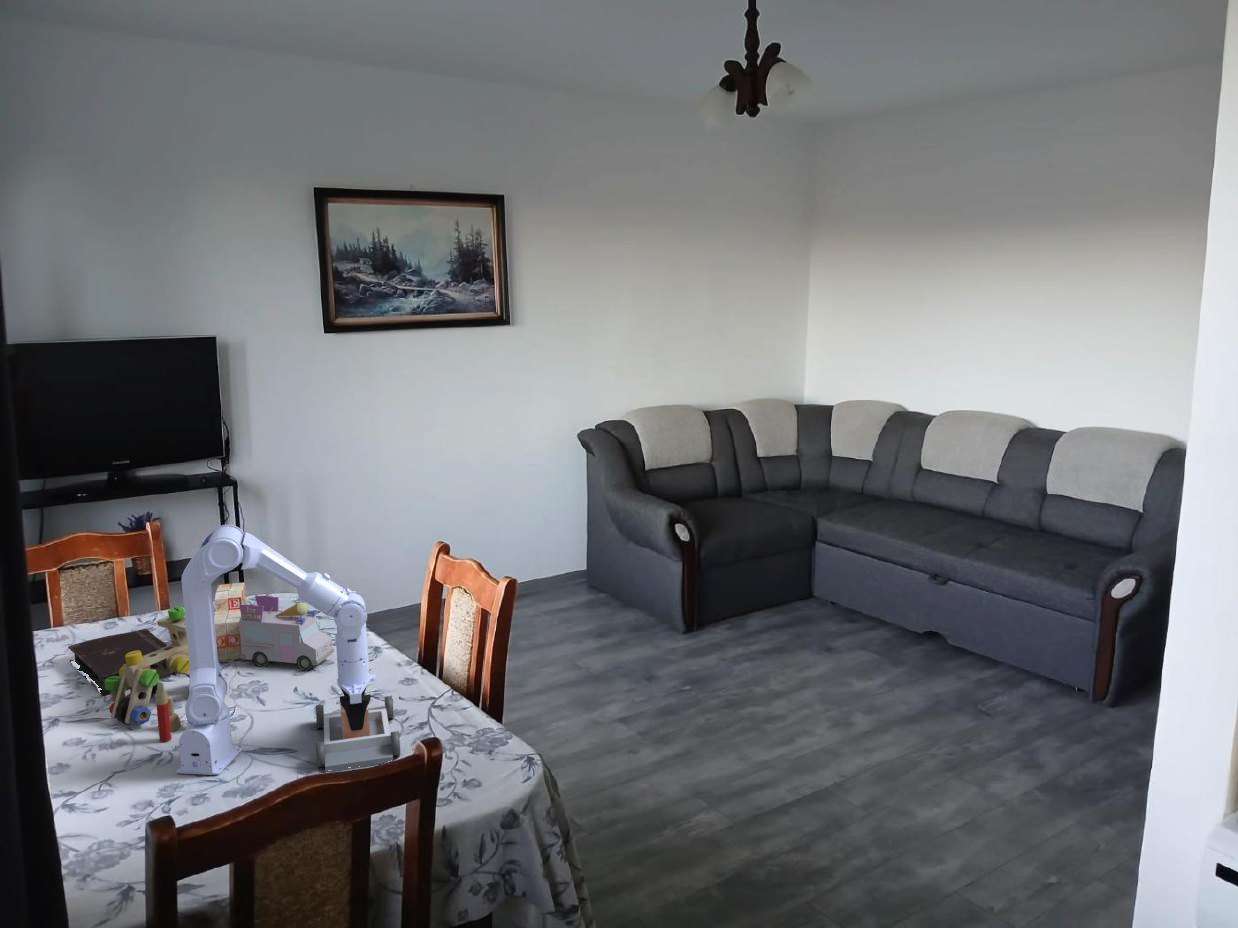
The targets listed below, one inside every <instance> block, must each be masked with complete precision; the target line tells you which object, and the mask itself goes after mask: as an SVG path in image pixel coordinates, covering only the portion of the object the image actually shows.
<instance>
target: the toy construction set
mask: <svg viewBox="0 0 1238 928" xmlns="http://www.w3.org/2000/svg"><path fill="white" fill-rule="evenodd" d="M167 614H168V615H167V616H165V617H163V618H161V619H158V620H157V621H156V623H157V626H158V627H161V628H165V629H167V630H168V633H169V637H170V642H171V644H167V645H168V646H165V647H163V648H161V649H159V650H156V651H154V652H152V653H149V654H147V655H145V656H142V654H141V651H139V650H138V651H132V652H129V653H127V654H126V655H125V659H126V663H127V664H124V665H123V667H121V669H120V671H119V675H120V677H119V676H111V677H108V678H107V679H105V688H106V690H110V691H111V692H110V693H111V695H110V698H111V702H112V703H110V706H109V713H110V714H111V716H110V718H112V719H114V720H117V721H118V722H119V723H121V724H123V725H131V724H138V725H143V724H146V723H148V722H149V721H150V719H151V716H152V711H151V710H150V709H149V705H150V700H151V699H153V698H155V704H156V705H155V706H156V714H157V715H156V716H157V724H158V727H157V728H158V737H159V742H161V743H167V742H169V741H170V740H172V732H177V731H178V730H180V729H181V728H182V722H181V719H180V716H179V714H178V713H176V712H175V709H174V697H173V696H172V695H168V692H167V691H166V690H165V683H164V682H162V681H160V679H159V675H158V674H157V673H156V670H154V669H150V665H152V664H154V663H155V664H157V665H158V666H160V667H161V670H162V671H163V672H166V673H169V674H171V675H172V673H173V672H178V674H183V675H185V676H186V677H187V678H189V680H190V664H189V654H188V643H187V633H186V622H185V612H184V606H182V605H180V606H179V605H177V606H174V607H173V608H169V609H168V610H167ZM128 688H129V690H130V691H129V694H127V695H126V694H125V693H126V691H128V690H127V689H128Z"/></svg>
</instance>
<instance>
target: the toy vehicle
mask: <svg viewBox="0 0 1238 928" xmlns="http://www.w3.org/2000/svg"><path fill="white" fill-rule="evenodd" d="M254 598H255V602H256V604H246V605H243V604H240V605H239V606H240V612H241V620H239V627H240V640H241V652H242V654H240V658H239V659H243V660H244V659H245V660H246V659H247V660H250V661H251V664H252V665H254V664H255V665H256V666H258V667H265V666H267V665H268V664H269V663H270V662H280V663H289V664H290V663H291V664H297V665H298V668H299V669H300V670H302V671H306V672H307V671H310V670H311V669H312V668H313V667H314V666H319V664H320V663H322V662H323V661H325V660H326V659H327V658H328V657H329V656H331V655H332V654H333V653H335V648H334V647H333V637H332V636H330V635H328V634H327V633H325V632H323V631H321V629H320V627H321V626H320V625H319V623H318V621H317V615H318V612H317V609H315V610H311V611H309V606H308V605H307V604H306V602H304V601H302V602H300V601H299V602H296V604H294V605H291V606H290V607H288V608H286V609H285V610H282V611H279V609H280V607H279V605H280V603H279V598H280V597H279V596H272V595H257V594H256V595H254Z"/></svg>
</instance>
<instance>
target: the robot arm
mask: <svg viewBox="0 0 1238 928" xmlns="http://www.w3.org/2000/svg"><path fill="white" fill-rule="evenodd" d="M240 564H242V565H241V568H240V570H249V569H250V570H251V569H255V568H259V569H261V570H263V571H265V572H266V573H268V574H270V575H272V576H274V577H276V578H277V579H279V580H281V581H283V582H285V584H286V583H287V584H288V585H289V586H292V587H293V588H295V589H296V590H297V596H298V598H299V599H300V600H301V601H302V602H304V603H305V604H306V603H307V604H308V605H310V606H311V607H313V608H315V610H318V611H319V612H321V613H322V614H324V615H326V616H327V617H332V618H333V620H334V623H335V625H336V633H335V642H336V643H335V644H336V645H335V647H336V663H337V665H336V666H337V686H338V687H339V688H340V690H341V692H342V693H343V695H340V696H339V703H341V704H340V706H341V705H342V707H343V708H344V710H345V712H346V714H347V717H348V721H349V725H350V729H351V731H356V730H362V729H363V725H364V719H365V712H366V709H367V706H368V707H369V704H370V702H371V699H372V696H371V694H370V693H369V694H365V693H366V690H367V688H368V685H369V684H370V683H371V682H375V681H376V674H374V673H370V669H369V668H370V666H369V647H368V643H369V642H368V632H367V630H366V629H367V621H368V614H367V609H366V603H365V600H364V598H363V597H362V596H361V595H360V594H359V593H358V591H355V590H351V588H348V587H346V588H343V587H342V586H341V585H339V584H337V583H336V582H334V581H333V580H332V579H331V576H330V575H329V574H328V573H326V572H324V573H323V574H322V573H320V572H318V571H313V572H306V571H304V570H303V569H301V568H300V567H299V566H298V565H296V564H295V563H293V562H291V561H290V560H289V559H287V558H286V557H285V556H283V555H281V554H280V553H279V552H277V551H276V550H274V549H273V548H271V547H270V546H269V545H268V544H266V543H264V542H263V541H262V540H260V539H259V538H257V537H256V536H255V535H254V534H251V533H250V532H245V533H244V531H243V530H242V529H241V528H240V527H239V526H236V525H233V524H222V525H220V526H218V527H216V528H214V529H213V530H212V531H211V532H209V533H208V534H207V535H206V536H205V537H204V538H203V539H202V542H201V543H200V545H199V546H198V548H197V550H196V551H195V553H194V554H193V555H192V557H191V559H190V560H189V561H188V563H187V565H186V567H185V568H184V570H183V573H182V574H181V587H182V599H183V600H182V601H183V609H184V612H185V622H186V633H187V643H188V654H189V664H190V679H189V682H188V690H189V694H188V695H189V696H188V698H187V700H186V702H185V707H184V711H185V714H186V727H185V729H184V731H183V732H182V734H181V735H180V737H179V740H178V750H179V759H180V766H179V767H178V769H176V773H177V774H183V775H184V774H187V775H204V776H205V775H207V776H208V775H209V776H212V775H213V776H219V775H220V774H221V773H222V772H223V771H224V770H225V769H226V768H227V766H229V765H230V763H231V762H232V761H234V760H235V758H236V757H237V756H238V755H239V754H240V753H241V752H242V751H243V748H242V747H241V746H233V740H232V739H233V738H232V727H231V712H230V707H229V706H228V705H227V704H226V703H225V698H226V695H227V691H228V687H229V686H228V682H227V679H225V677H224V676H223V674H222V671H221V664H220V662H219V660H218V655H217V644H216V633H215V622H214V615H215V610H214V603H213V602H214V601H213V590H212V583H213V582H214V581H215V580H216V579H217V578H218V577H220V575H223V574H225V573H229V572H230V571H232V570H235V568H236V567H238V566H239V565H240Z"/></svg>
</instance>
